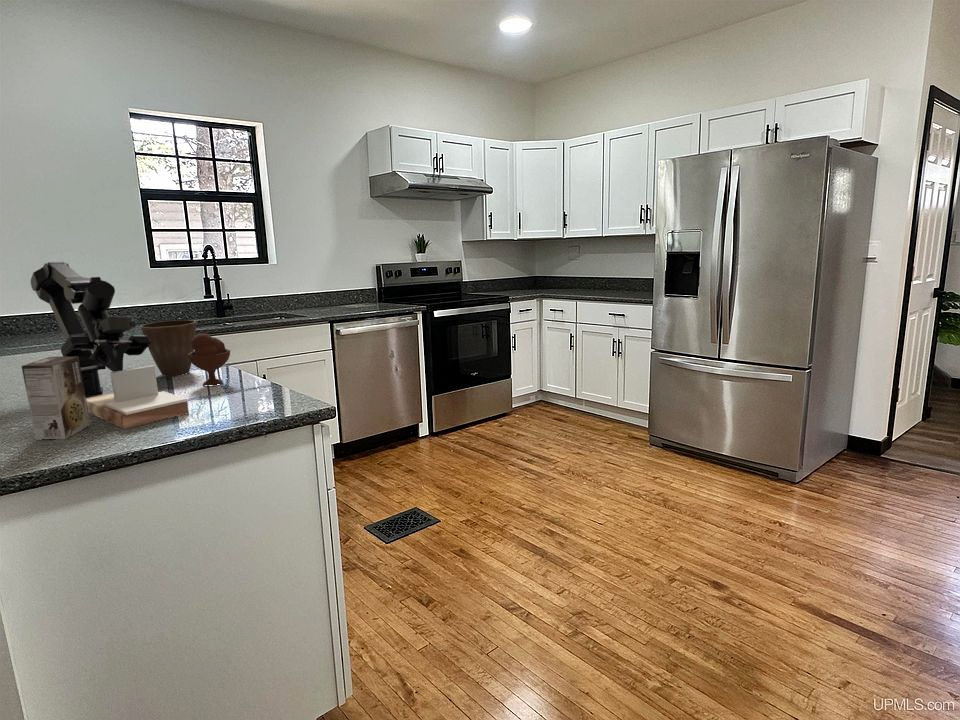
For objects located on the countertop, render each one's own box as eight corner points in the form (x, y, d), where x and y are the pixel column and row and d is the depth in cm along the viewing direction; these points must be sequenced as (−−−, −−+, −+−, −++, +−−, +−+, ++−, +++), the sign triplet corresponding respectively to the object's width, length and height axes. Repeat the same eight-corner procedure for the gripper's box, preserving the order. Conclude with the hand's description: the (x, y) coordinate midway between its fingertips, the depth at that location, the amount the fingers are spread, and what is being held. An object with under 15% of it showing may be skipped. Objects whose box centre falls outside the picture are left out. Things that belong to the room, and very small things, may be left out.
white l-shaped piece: (105, 405, 130) (100, 373, 129) (164, 393, 140) (159, 363, 139) (126, 414, 123) (121, 381, 122) (186, 401, 133) (182, 369, 132)
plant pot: (159, 382, 167) (151, 328, 163) (140, 375, 176) (132, 324, 173) (210, 372, 178) (204, 322, 174) (189, 366, 187) (183, 318, 184)
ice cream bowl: (218, 389, 156) (211, 336, 153) (182, 388, 159) (176, 335, 156) (241, 380, 167) (235, 330, 163) (207, 379, 169) (201, 329, 166)
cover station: (84, 410, 139) (82, 399, 138) (145, 397, 149) (144, 386, 149) (124, 429, 124) (122, 416, 123) (188, 413, 135) (187, 401, 134)
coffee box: (61, 426, 127) (49, 356, 123) (92, 425, 127) (80, 355, 124) (33, 440, 118) (19, 365, 114) (66, 439, 118) (52, 364, 115)
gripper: (70, 301, 131) (94, 357, 127) (149, 304, 147) (172, 354, 144) (50, 329, 135) (73, 384, 132) (129, 329, 152) (151, 378, 148)
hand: (120, 374), depth 139 cm, fingers closed
